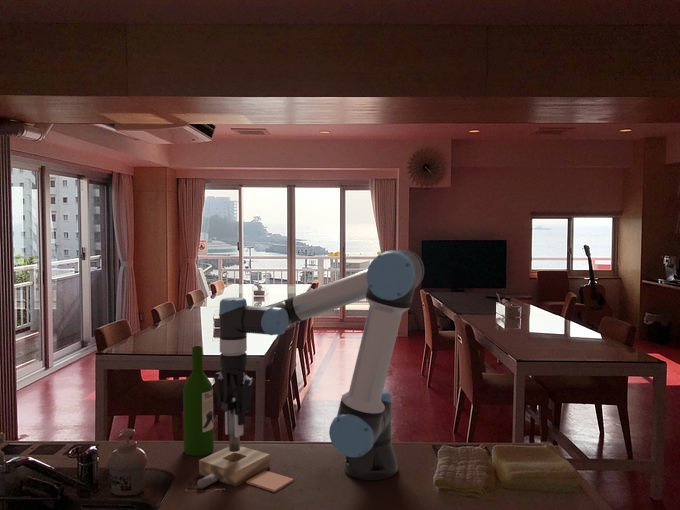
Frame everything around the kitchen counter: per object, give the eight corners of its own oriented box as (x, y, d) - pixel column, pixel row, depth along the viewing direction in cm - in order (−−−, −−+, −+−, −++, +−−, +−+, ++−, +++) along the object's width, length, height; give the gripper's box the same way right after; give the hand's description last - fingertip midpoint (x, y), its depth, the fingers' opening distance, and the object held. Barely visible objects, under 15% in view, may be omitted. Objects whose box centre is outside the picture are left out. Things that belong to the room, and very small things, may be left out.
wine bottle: (204, 457, 173) (202, 350, 171) (178, 454, 175) (176, 349, 173) (218, 446, 181) (217, 344, 179) (193, 443, 184) (191, 343, 182)
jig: (269, 467, 165) (269, 454, 165) (219, 495, 148) (219, 480, 148) (234, 457, 173) (233, 444, 172) (182, 482, 156) (182, 467, 156)
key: (247, 446, 165) (247, 397, 164) (228, 455, 159) (228, 404, 158) (239, 444, 167) (239, 395, 166) (221, 453, 160) (220, 402, 160)
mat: (293, 481, 156) (293, 478, 156) (274, 492, 150) (274, 490, 150) (265, 472, 162) (265, 470, 162) (246, 483, 155) (246, 481, 155)
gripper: (263, 353, 160) (264, 436, 161) (222, 347, 169) (223, 425, 170) (245, 358, 154) (246, 444, 155) (203, 351, 162) (204, 432, 164)
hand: (234, 434), depth 162 cm, fingers closed on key, 3 cm apart
